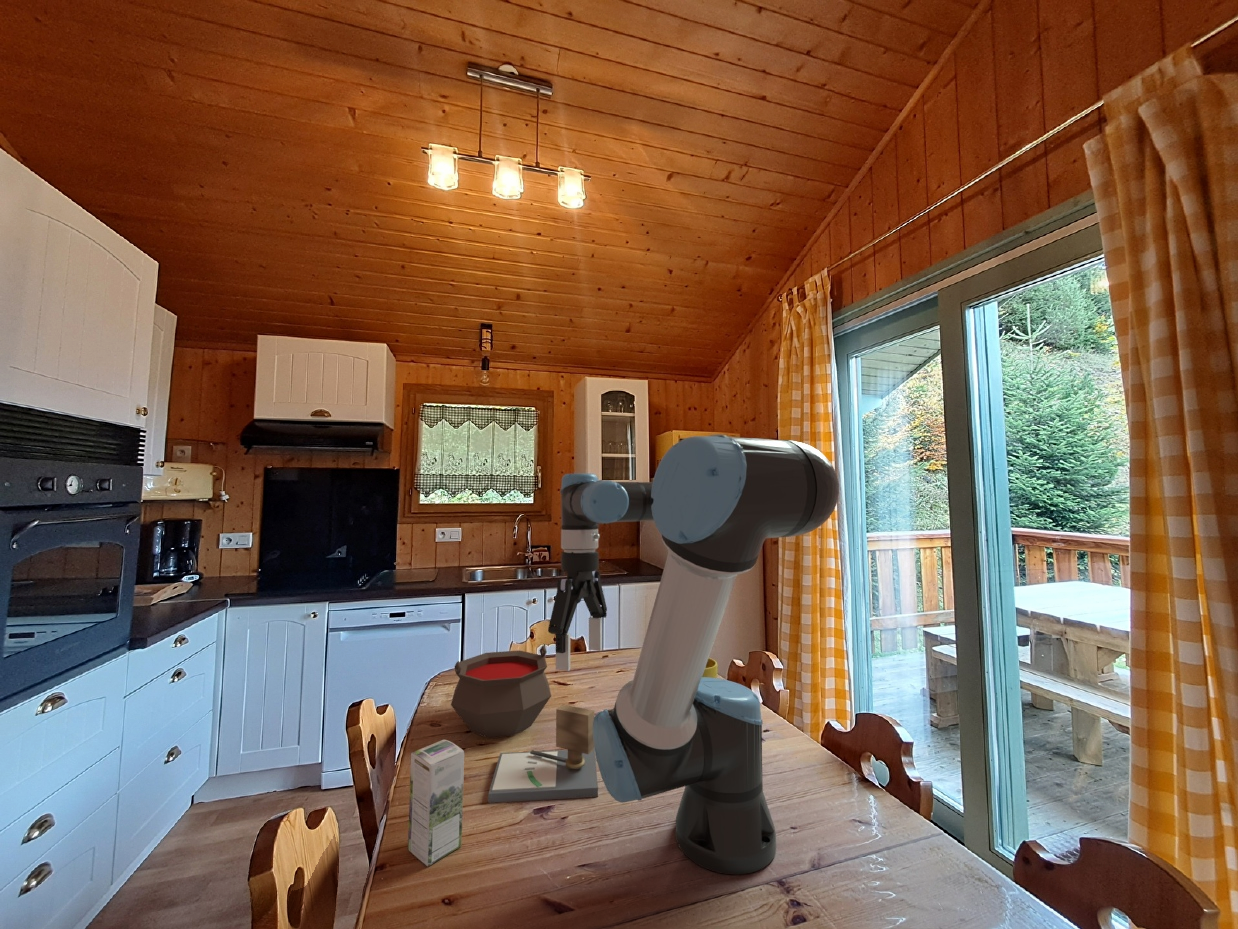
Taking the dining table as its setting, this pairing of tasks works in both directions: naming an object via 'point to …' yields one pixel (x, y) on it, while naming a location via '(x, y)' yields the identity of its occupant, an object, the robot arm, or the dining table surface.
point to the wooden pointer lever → (572, 735)
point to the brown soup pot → (501, 691)
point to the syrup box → (436, 801)
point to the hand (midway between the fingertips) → (580, 659)
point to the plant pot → (710, 669)
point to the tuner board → (542, 777)
